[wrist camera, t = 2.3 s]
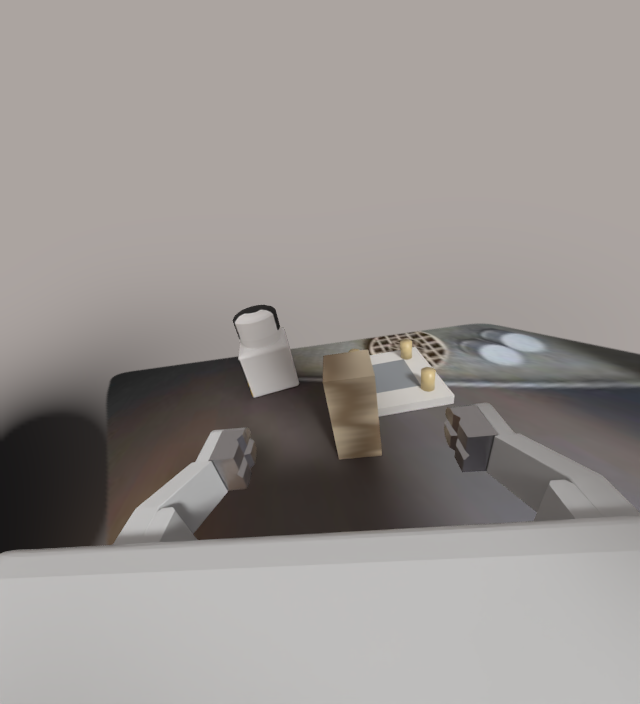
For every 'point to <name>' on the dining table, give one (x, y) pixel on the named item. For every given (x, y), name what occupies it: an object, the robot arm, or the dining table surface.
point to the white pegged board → (407, 381)
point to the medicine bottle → (264, 351)
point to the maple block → (352, 404)
